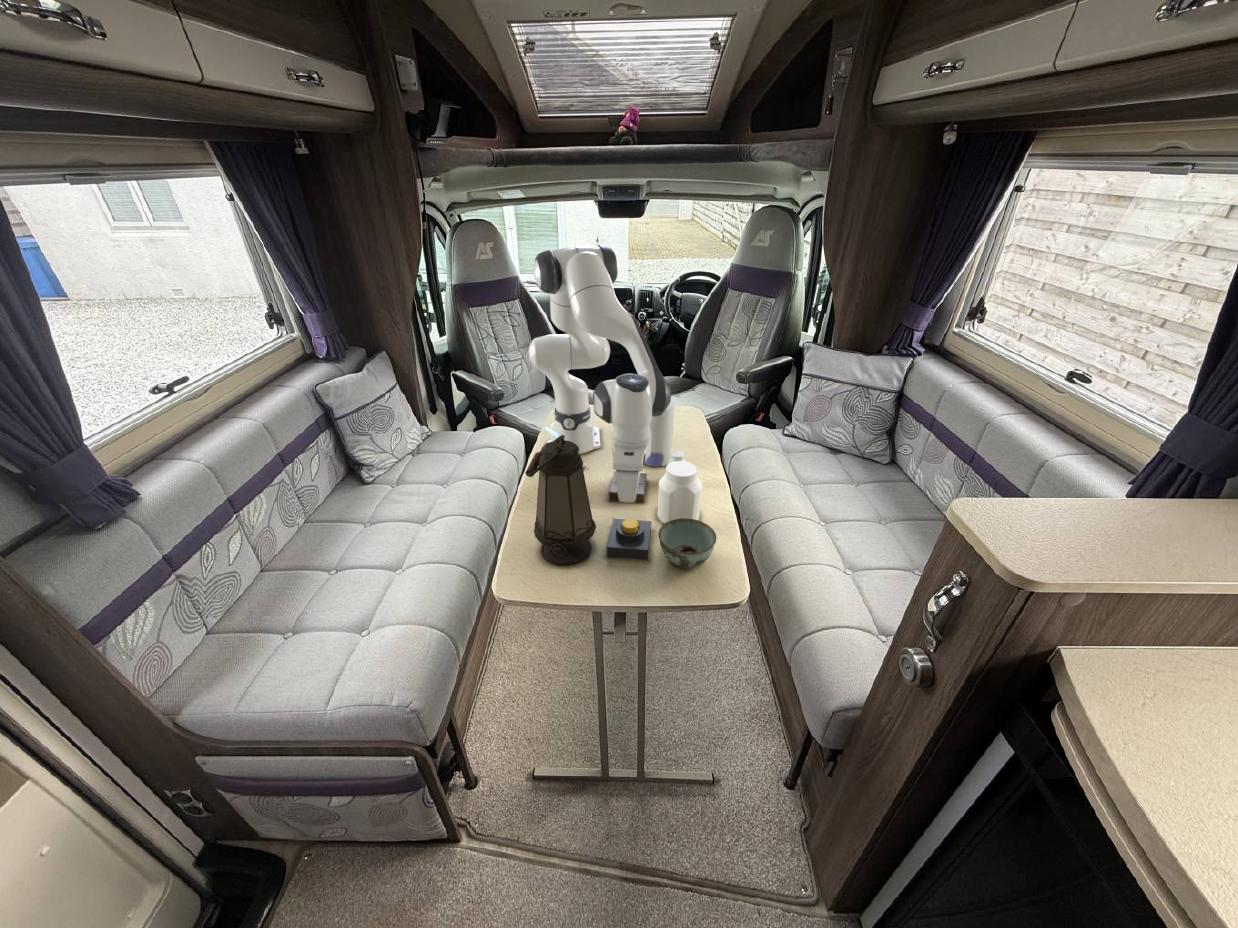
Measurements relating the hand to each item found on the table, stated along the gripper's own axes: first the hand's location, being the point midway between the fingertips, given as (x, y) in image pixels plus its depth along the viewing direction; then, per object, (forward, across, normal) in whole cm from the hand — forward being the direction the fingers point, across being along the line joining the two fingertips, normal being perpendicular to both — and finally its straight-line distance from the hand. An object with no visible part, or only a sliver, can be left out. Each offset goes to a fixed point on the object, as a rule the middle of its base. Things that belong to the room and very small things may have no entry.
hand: (630, 497), depth 120 cm
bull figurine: (+14, -22, -19) cm, 33 cm away
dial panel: (+14, -25, -3) cm, 29 cm away
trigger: (+9, 0, 0) cm, 10 cm away
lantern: (+14, +4, -16) cm, 21 cm away
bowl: (+14, +5, +14) cm, 20 cm away
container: (+14, -46, +4) cm, 48 cm away
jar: (+14, -14, +12) cm, 23 cm away
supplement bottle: (+14, -32, +11) cm, 37 cm away
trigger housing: (+14, 0, 0) cm, 14 cm away
